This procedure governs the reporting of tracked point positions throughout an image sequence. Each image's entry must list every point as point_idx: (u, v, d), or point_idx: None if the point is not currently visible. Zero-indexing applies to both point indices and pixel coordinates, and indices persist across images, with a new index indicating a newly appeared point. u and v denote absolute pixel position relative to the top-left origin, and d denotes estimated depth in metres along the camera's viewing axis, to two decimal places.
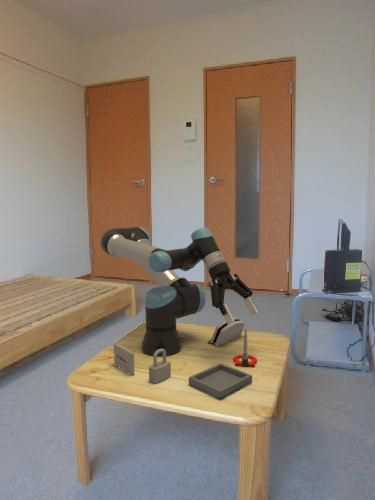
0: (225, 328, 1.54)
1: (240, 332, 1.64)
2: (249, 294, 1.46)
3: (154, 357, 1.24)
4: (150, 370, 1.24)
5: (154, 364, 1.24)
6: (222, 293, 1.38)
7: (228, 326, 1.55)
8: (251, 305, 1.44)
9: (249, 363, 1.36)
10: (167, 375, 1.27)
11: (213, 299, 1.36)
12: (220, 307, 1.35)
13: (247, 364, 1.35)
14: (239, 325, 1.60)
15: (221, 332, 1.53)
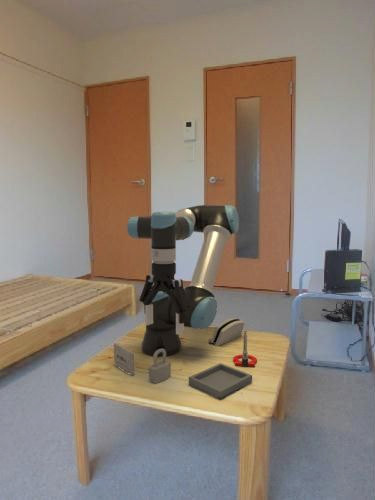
0: (225, 328, 1.54)
1: (239, 332, 1.64)
2: (178, 311, 1.18)
3: (154, 357, 1.24)
4: (150, 370, 1.24)
5: (154, 364, 1.24)
6: (149, 294, 1.26)
7: (228, 326, 1.55)
8: None
9: (249, 363, 1.36)
10: (167, 375, 1.27)
11: None
12: None
13: (247, 364, 1.35)
14: (239, 324, 1.61)
15: (221, 332, 1.53)
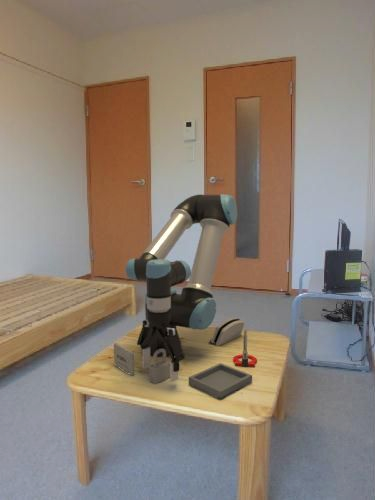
0: (226, 328, 1.54)
1: (239, 332, 1.65)
2: (172, 359, 1.19)
3: (154, 357, 1.24)
4: (150, 370, 1.24)
5: (154, 364, 1.24)
6: (146, 339, 1.28)
7: (229, 326, 1.56)
8: None
9: (249, 363, 1.36)
10: (167, 375, 1.27)
11: None
12: None
13: (247, 364, 1.35)
14: (239, 324, 1.61)
15: (222, 332, 1.54)
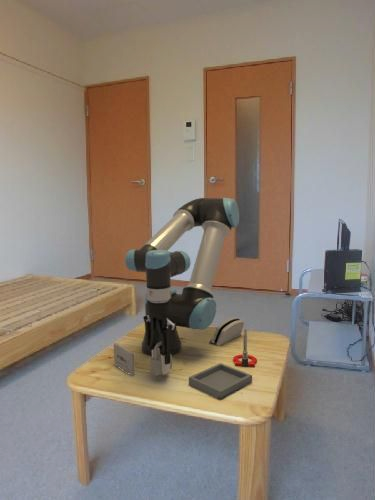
0: (226, 328, 1.55)
1: (239, 331, 1.65)
2: (163, 352, 1.23)
3: (155, 350, 1.24)
4: (151, 362, 1.25)
5: (155, 356, 1.24)
6: (151, 336, 1.27)
7: (229, 326, 1.56)
8: None
9: (249, 363, 1.36)
10: None
11: None
12: None
13: (247, 364, 1.35)
14: (239, 324, 1.61)
15: (222, 332, 1.54)
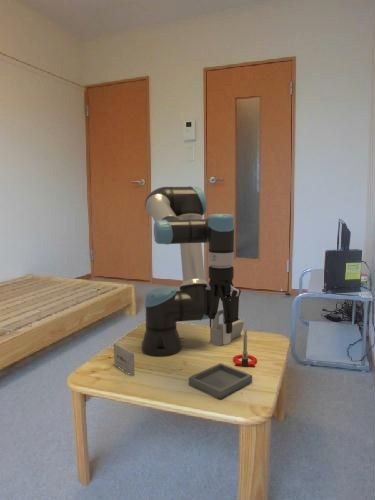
0: None
1: (239, 331, 1.65)
2: (226, 321, 1.17)
3: (216, 318, 1.19)
4: (212, 332, 1.19)
5: (216, 325, 1.19)
6: (211, 304, 1.21)
7: None
8: None
9: (249, 363, 1.36)
10: None
11: None
12: None
13: (247, 364, 1.35)
14: (239, 324, 1.61)
15: None
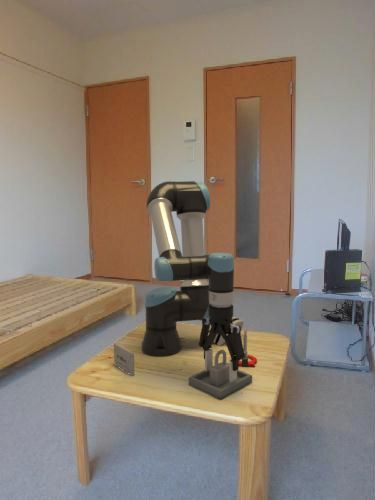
0: None
1: None
2: (232, 358, 1.17)
3: (216, 359, 1.20)
4: (211, 372, 1.21)
5: (216, 366, 1.21)
6: (208, 338, 1.24)
7: None
8: None
9: (249, 363, 1.36)
10: (228, 377, 1.23)
11: None
12: None
13: (247, 364, 1.35)
14: (239, 323, 1.62)
15: None
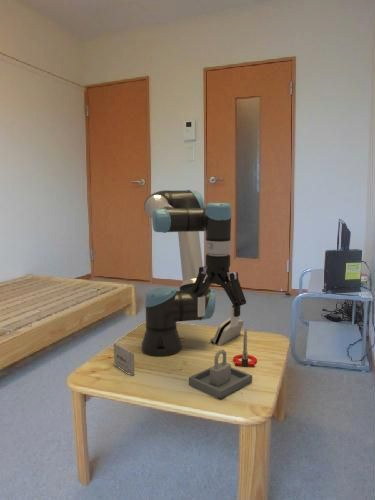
0: (227, 327, 1.55)
1: (239, 330, 1.66)
2: (234, 304, 1.16)
3: (216, 359, 1.20)
4: (211, 372, 1.21)
5: (216, 366, 1.21)
6: (202, 286, 1.25)
7: (230, 325, 1.56)
8: None
9: (249, 363, 1.36)
10: (228, 377, 1.23)
11: None
12: None
13: (247, 364, 1.35)
14: (239, 323, 1.62)
15: (224, 331, 1.54)
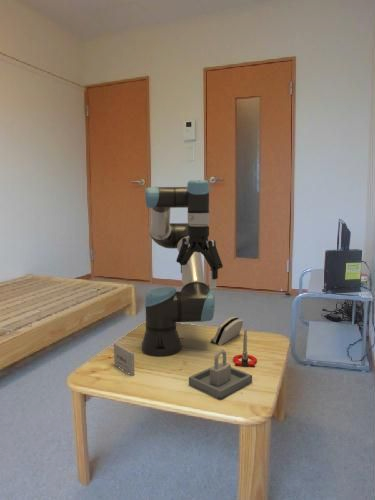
0: (228, 327, 1.55)
1: (239, 330, 1.66)
2: (212, 268, 1.33)
3: (216, 359, 1.20)
4: (211, 372, 1.21)
5: (216, 366, 1.21)
6: (185, 255, 1.42)
7: (230, 325, 1.57)
8: None
9: (249, 363, 1.36)
10: (228, 377, 1.23)
11: None
12: None
13: (247, 364, 1.35)
14: (239, 323, 1.62)
15: (224, 331, 1.54)
